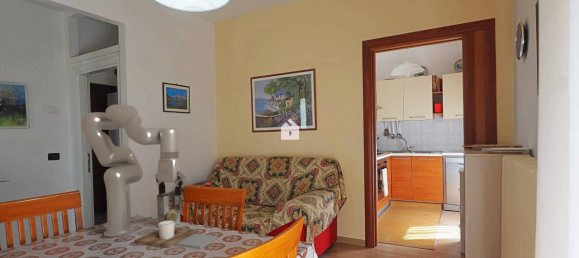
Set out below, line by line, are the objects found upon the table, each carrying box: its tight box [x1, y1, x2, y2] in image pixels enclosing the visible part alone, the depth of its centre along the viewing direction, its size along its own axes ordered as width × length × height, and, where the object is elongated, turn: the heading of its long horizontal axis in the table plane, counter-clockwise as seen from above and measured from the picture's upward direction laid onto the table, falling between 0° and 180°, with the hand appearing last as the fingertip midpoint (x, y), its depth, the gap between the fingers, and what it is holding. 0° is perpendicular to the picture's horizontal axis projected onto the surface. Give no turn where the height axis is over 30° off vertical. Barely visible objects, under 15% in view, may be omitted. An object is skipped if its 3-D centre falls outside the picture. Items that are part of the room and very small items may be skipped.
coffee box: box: [156, 191, 181, 228], centre depth 147 cm, size 9×6×16 cm
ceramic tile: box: [175, 233, 218, 249], centre depth 124 cm, size 12×12×1 cm
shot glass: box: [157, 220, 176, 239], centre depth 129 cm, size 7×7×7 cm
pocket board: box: [134, 227, 198, 249], centre depth 129 cm, size 18×18×2 cm
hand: (170, 194), depth 129 cm, fingers open, 9 cm apart
